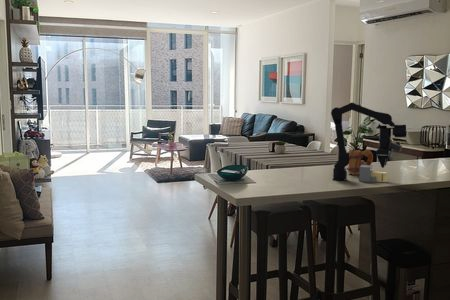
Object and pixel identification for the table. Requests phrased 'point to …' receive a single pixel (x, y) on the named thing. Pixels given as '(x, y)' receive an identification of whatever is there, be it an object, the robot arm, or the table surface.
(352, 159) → the mug
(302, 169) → the table surface
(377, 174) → the pale yellow flat block
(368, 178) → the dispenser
